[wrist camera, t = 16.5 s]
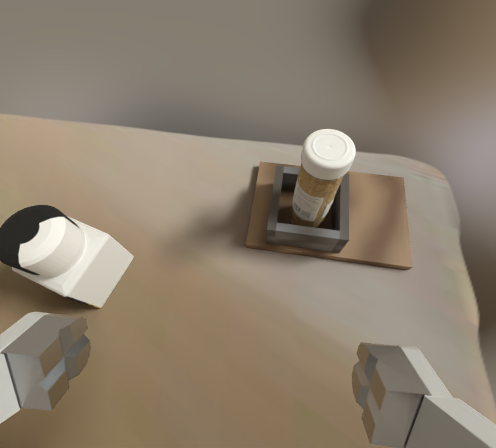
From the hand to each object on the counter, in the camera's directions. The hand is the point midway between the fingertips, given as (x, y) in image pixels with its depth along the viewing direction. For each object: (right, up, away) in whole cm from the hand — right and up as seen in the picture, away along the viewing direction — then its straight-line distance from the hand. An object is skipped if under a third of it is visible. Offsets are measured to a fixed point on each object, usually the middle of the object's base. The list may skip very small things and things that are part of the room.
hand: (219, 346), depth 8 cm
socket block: (+11, +5, +29) cm, 32 cm away
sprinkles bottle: (+8, +4, +28) cm, 30 cm away
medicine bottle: (-18, -2, +27) cm, 32 cm away
